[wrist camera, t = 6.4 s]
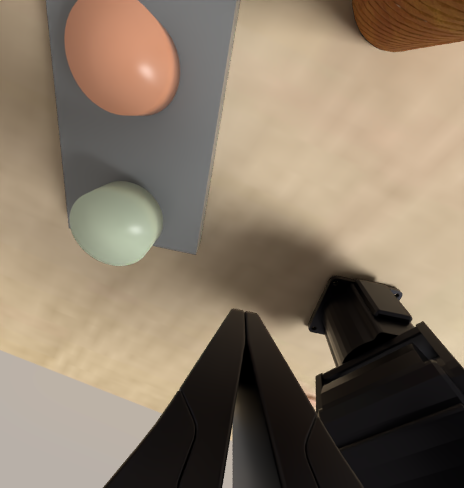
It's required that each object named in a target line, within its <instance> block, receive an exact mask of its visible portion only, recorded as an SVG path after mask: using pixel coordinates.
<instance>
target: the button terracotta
mask: <svg viewBox="0 0 464 488" xmlns="http://www.w3.org/2000/svg"><path fill="white" fill-rule="evenodd" d="M64 40H65V52H66V57H67V61H68V64H69V67H70V70H71V72H72V75H73V77H74V79H75V80H76V82H77V84H78V86H79V87H80V88H81V90H82V91H83V92H84V93H85V95H86V96H87V97H88V98H89V99H90V100H91V101H92V102H93V103H95V104H96V105H97V106H99V107H100V108H102V109H104V110H106V111H108V112H110V113H113V114H117V115H125V116H148V115H153V114H156V113H158V112H160V111H162V110H163V109H165V108H166V107H167V106H168V105H169V104H170V102H171V101H172V100H173V98H174V96H175V94H176V92H177V89H178V86H179V81H180V62H179V56H178V53H177V49H176V47H175V44H174V42H173V40H172V38H171V36H170V35H169V33H168V32H167V30H166V29H165V28H164V27H163V26H162V24H161V23H160V22H159V21H158V20H157V19H156V18H155V17H154V16H153V15H152V14H151V13H150V12H149V11H148V10H147V8H146V7H145V6H144V5H143V4H141V3H140V2H139V1H138V0H78V1H77V2H76V3H75V5H74V6H73V7H72V9H71V11H70V13H69V16H68V19H67V22H66V27H65V36H64Z"/></svg>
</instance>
